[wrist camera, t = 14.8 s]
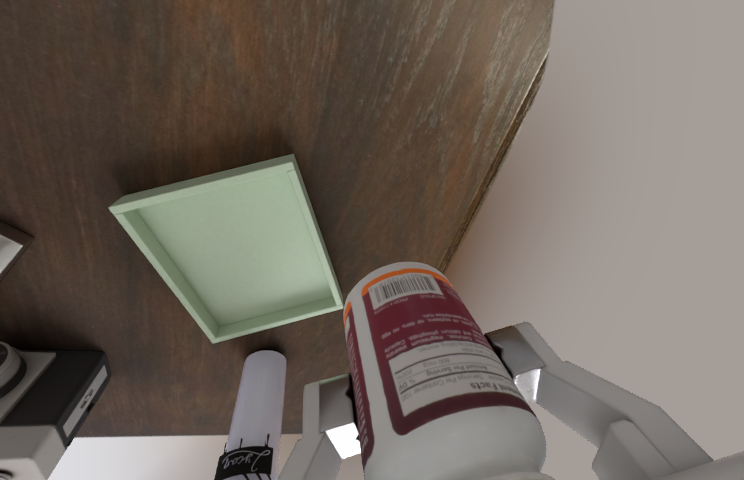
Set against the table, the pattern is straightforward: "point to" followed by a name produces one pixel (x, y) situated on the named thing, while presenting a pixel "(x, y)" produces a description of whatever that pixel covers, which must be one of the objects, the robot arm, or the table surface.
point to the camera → (44, 406)
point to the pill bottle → (433, 385)
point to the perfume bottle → (256, 421)
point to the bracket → (11, 247)
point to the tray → (236, 247)
